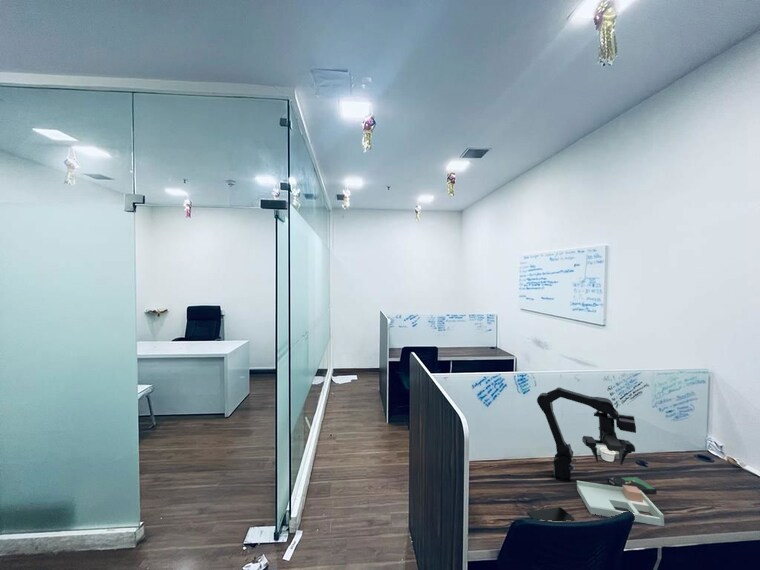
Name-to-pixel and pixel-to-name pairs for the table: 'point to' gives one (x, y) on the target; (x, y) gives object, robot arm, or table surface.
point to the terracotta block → (632, 493)
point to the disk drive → (632, 484)
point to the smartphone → (551, 514)
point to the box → (617, 502)
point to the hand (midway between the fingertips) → (608, 463)
